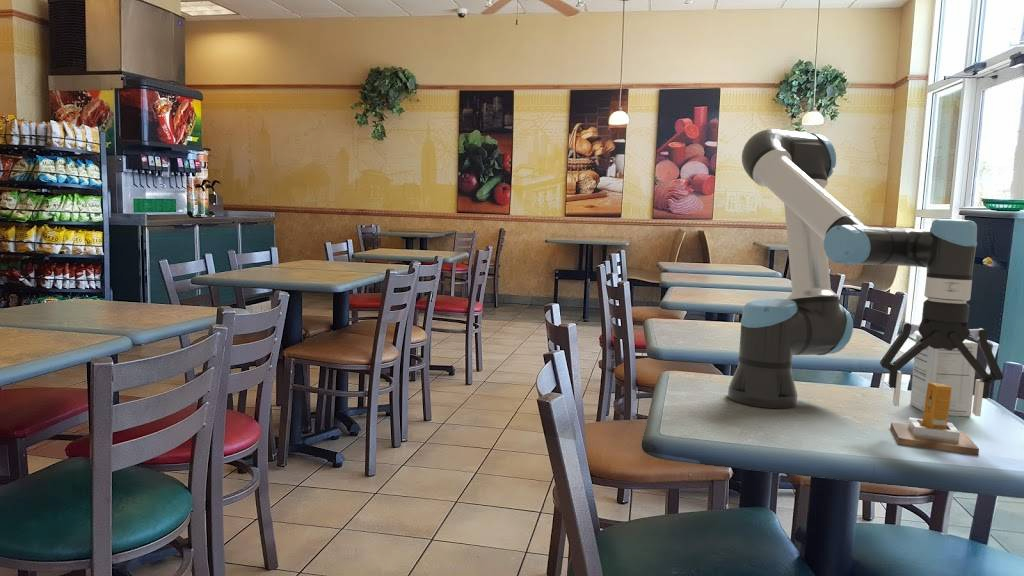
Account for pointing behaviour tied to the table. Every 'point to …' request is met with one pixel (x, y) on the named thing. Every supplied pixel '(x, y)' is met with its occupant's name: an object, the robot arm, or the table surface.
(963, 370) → the supplement box
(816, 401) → the table surface
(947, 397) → the supplement box
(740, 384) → the robot arm
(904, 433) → the board
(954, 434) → the collar
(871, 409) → the table surface
